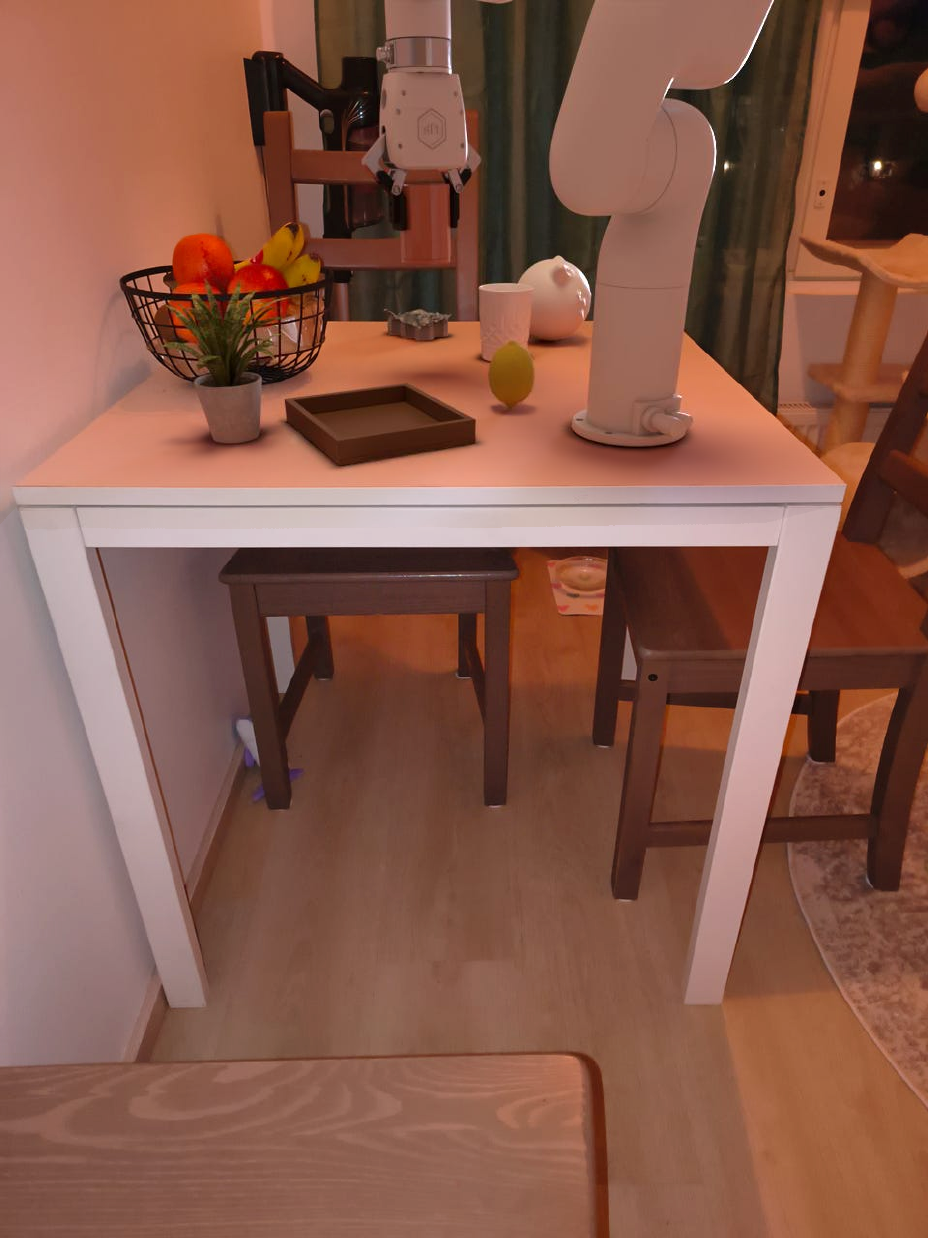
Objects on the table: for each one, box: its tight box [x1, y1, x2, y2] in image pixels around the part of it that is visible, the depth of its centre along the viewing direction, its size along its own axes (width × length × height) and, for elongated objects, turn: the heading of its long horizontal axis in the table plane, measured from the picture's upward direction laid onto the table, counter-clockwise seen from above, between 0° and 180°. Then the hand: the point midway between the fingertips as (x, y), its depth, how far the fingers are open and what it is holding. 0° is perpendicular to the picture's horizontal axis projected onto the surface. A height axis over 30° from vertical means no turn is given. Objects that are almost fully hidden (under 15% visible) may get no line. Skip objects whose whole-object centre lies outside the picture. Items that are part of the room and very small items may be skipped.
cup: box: [399, 182, 452, 266], centre depth 105 cm, size 6×6×9 cm
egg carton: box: [382, 308, 453, 342], centre depth 139 cm, size 11×8×4 cm
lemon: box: [488, 341, 536, 409], centre depth 99 cm, size 6×6×8 cm
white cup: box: [478, 282, 533, 362], centre depth 122 cm, size 8×8×10 cm
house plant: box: [161, 278, 294, 444], centre depth 86 cm, size 14×14×16 cm
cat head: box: [517, 255, 592, 342], centre depth 133 cm, size 15×13×12 cm
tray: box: [284, 382, 477, 467], centre depth 92 cm, size 18×16×3 cm
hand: (425, 227), depth 106 cm, fingers closed on cup, 6 cm apart
